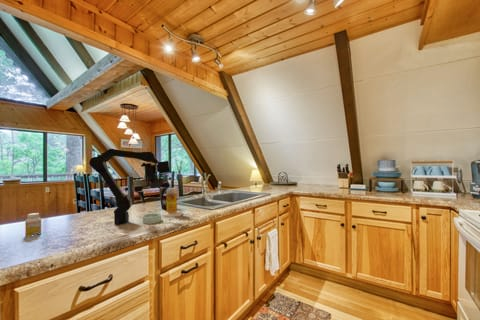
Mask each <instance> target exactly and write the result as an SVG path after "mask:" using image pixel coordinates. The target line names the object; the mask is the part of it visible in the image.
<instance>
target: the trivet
mask: <svg viewBox="0 0 480 320" xmlns="http://www.w3.org/2000/svg"><path fill="white" fill-rule="evenodd" d="M179 216H183V211H182V210H178V209H177V212H176V213H172V214H169V213H168V212H167V210H165V211H163V212H161V217H163V218H173V217H174V218H175V217H179Z"/></svg>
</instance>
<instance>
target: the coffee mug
mask: <svg viewBox="0 0 480 320" xmlns="http://www.w3.org/2000/svg"><path fill="white" fill-rule="evenodd" d="M160 206H161V207H160V208H161V210H162V211H163V210H165V211H167V193H164V194H163V198H162V201H160Z"/></svg>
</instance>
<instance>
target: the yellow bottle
mask: <svg viewBox="0 0 480 320" xmlns="http://www.w3.org/2000/svg"><path fill="white" fill-rule="evenodd" d="M167 188H168V189H166V194H167V210H166V211H167V212H168V213H169V214H172V213H176V212H177V210H178V189H177V187H167Z"/></svg>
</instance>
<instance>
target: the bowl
mask: <svg viewBox="0 0 480 320" xmlns="http://www.w3.org/2000/svg"><path fill="white" fill-rule="evenodd" d="M150 216H154V217H150ZM141 217H142V224H148V225H150V224H157V223H160V222H162V213H158V212H152V213H146V214H143V215H142V216H141Z"/></svg>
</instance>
